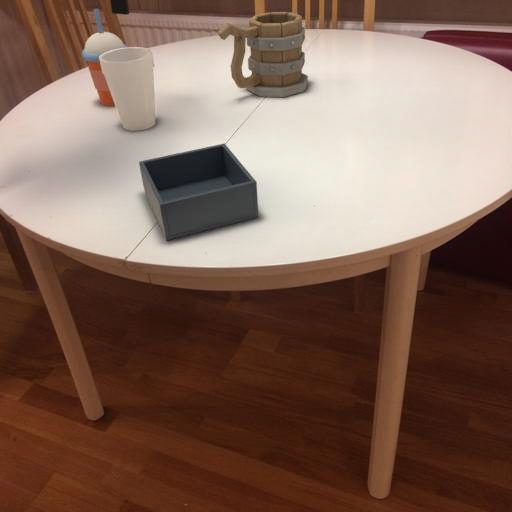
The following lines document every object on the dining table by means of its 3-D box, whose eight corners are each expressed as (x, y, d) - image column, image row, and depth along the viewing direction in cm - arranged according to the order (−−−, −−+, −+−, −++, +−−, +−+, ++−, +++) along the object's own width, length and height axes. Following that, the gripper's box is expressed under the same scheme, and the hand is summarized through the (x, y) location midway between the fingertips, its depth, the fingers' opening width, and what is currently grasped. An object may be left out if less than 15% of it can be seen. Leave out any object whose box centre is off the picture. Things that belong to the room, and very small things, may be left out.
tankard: (283, 72, 121) (282, 2, 112) (318, 87, 112) (320, 12, 103) (208, 93, 113) (200, 18, 103) (239, 111, 104) (233, 31, 95)
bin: (166, 240, 69) (159, 204, 66) (145, 194, 79) (138, 161, 76) (258, 217, 73) (256, 181, 70) (227, 175, 83) (224, 143, 79)
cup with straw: (96, 94, 115) (76, 6, 104) (138, 91, 116) (122, 2, 105) (91, 110, 108) (68, 16, 97) (135, 106, 108) (117, 13, 98)
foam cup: (139, 111, 106) (127, 44, 98) (173, 119, 102) (162, 51, 94) (104, 127, 100) (87, 58, 93) (138, 138, 96) (123, 66, 88)
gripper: (105, -146, 69) (128, 25, 82) (169, -152, 87) (179, -13, 101) (53, -148, 70) (84, 21, 83) (126, -153, 89) (142, -15, 102)
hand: (136, 3), depth 92 cm, fingers open, 13 cm apart
